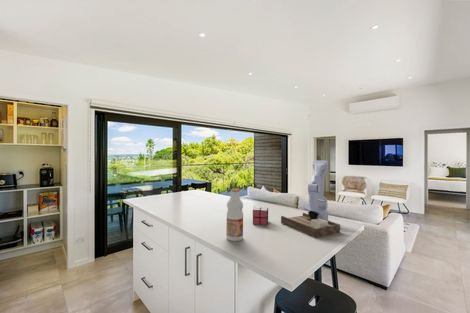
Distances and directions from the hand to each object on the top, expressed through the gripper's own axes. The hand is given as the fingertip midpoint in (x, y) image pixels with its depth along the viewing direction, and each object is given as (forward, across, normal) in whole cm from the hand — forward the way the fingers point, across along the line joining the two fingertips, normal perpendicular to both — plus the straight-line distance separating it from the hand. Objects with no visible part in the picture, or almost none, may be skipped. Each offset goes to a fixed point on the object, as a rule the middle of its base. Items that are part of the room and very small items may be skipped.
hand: (313, 223), depth 143 cm
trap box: (+4, -4, 0) cm, 6 cm away
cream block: (+1, +5, 0) cm, 5 cm away
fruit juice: (+4, -8, -53) cm, 54 cm away
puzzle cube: (+4, -26, -23) cm, 35 cm away
